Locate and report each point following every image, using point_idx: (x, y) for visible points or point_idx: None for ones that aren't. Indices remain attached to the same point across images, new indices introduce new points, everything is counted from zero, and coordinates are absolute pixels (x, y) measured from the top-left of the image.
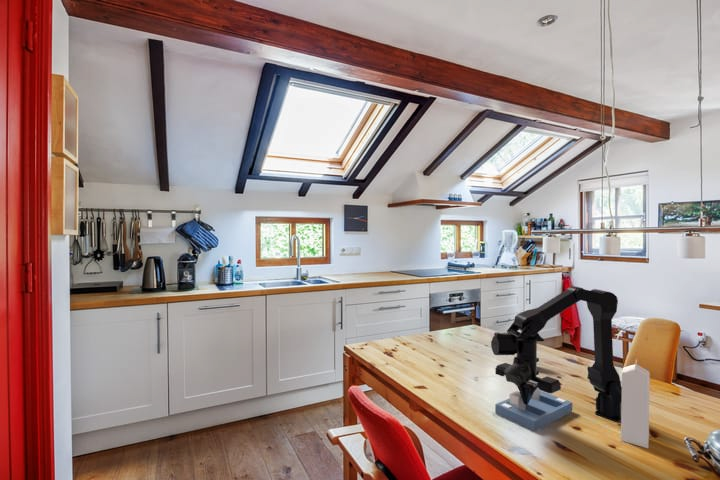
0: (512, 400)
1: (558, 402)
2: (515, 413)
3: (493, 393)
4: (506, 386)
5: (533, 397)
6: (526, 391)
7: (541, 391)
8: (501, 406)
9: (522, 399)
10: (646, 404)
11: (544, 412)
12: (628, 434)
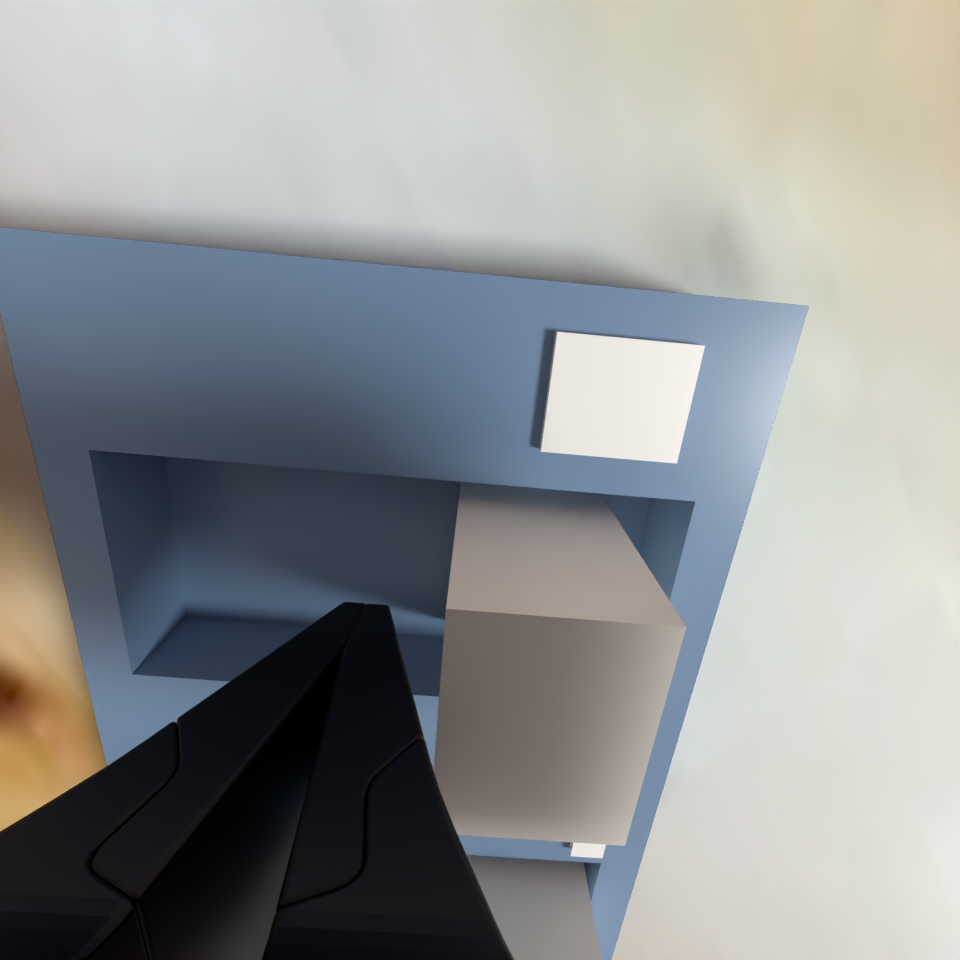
0: (578, 551)
1: None
2: (374, 266)
3: (921, 755)
4: (851, 942)
5: None
6: (106, 846)
7: None
8: (678, 300)
9: (394, 642)
10: None
11: (177, 664)
12: None
